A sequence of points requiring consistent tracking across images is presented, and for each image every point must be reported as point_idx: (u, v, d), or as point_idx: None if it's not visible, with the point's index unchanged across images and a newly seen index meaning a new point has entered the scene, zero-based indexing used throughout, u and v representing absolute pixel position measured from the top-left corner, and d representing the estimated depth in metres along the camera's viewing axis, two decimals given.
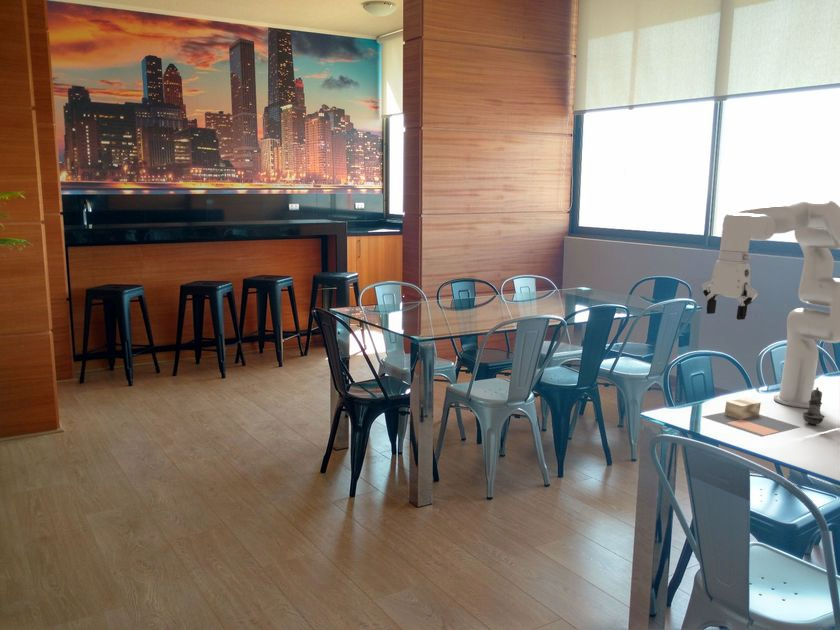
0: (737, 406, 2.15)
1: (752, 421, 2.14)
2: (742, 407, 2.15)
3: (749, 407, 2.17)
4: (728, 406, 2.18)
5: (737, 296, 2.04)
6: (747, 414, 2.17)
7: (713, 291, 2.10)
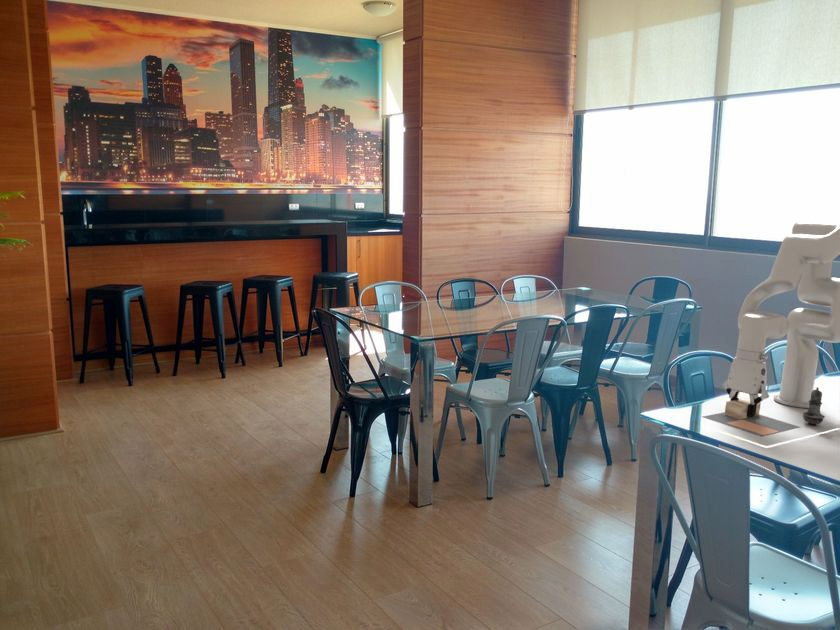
0: (737, 406, 2.15)
1: (752, 421, 2.14)
2: (742, 407, 2.15)
3: None
4: (728, 406, 2.18)
5: (754, 393, 2.14)
6: None
7: (731, 386, 2.20)
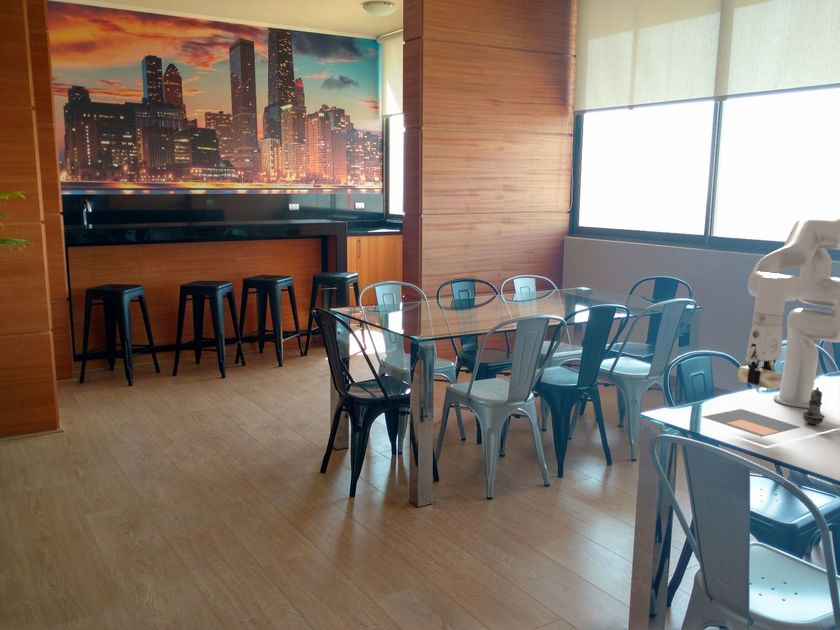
0: None
1: (752, 421, 2.14)
2: (740, 368, 2.07)
3: None
4: None
5: None
6: None
7: None
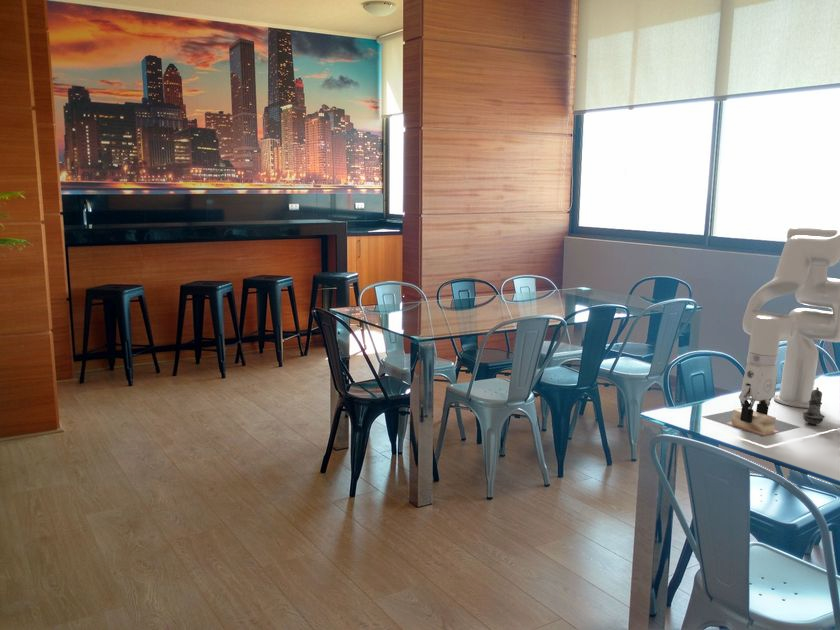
0: None
1: None
2: (735, 411, 2.10)
3: None
4: None
5: None
6: (743, 423, 2.08)
7: None
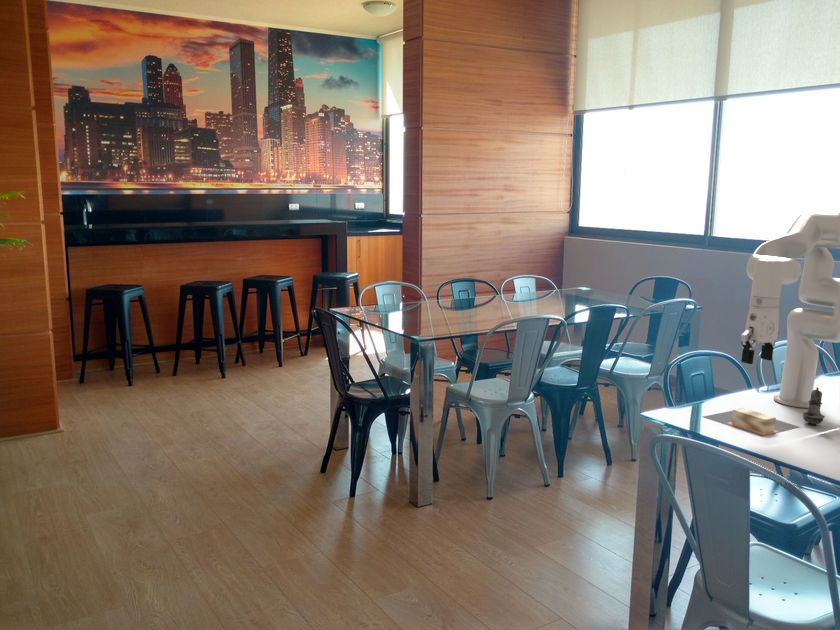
0: None
1: None
2: (735, 411, 2.10)
3: (746, 416, 2.07)
4: None
5: None
6: (743, 423, 2.08)
7: None
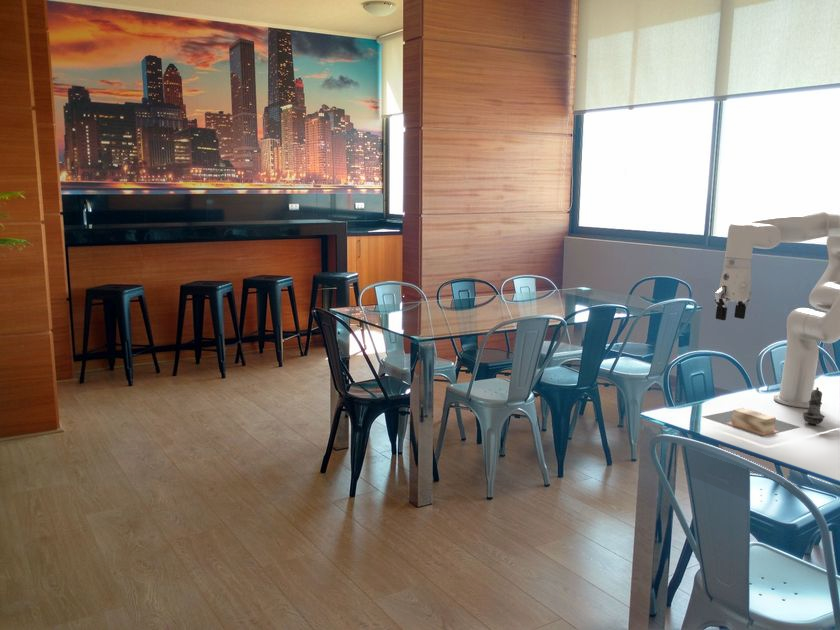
0: None
1: None
2: (735, 411, 2.10)
3: (746, 416, 2.07)
4: None
5: None
6: (743, 423, 2.08)
7: None
